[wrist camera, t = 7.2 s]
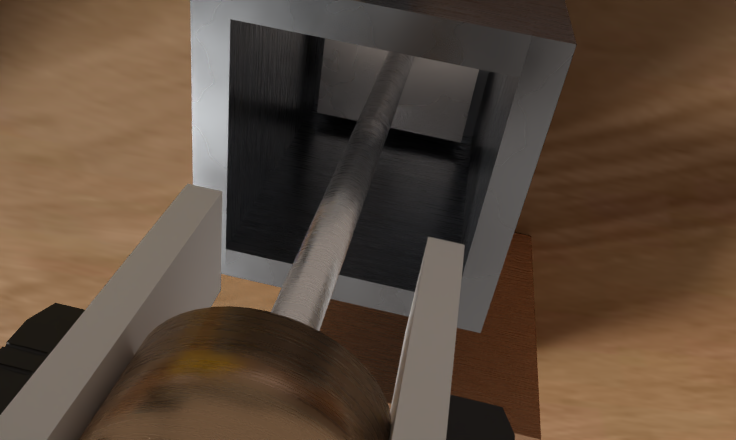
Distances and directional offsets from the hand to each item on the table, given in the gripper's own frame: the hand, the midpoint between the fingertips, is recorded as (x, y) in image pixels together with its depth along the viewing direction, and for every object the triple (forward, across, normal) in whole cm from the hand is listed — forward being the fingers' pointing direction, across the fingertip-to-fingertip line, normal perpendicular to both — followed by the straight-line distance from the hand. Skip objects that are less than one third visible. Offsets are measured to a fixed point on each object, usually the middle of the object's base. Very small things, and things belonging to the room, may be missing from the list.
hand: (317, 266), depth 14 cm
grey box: (+16, 0, +2) cm, 16 cm away
